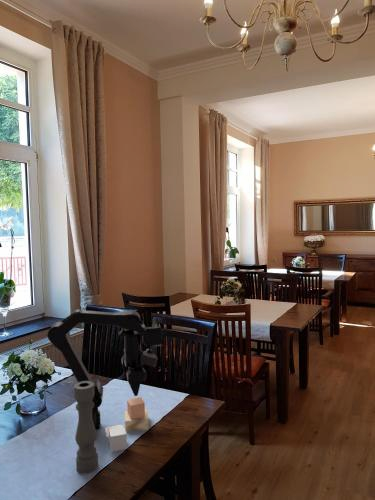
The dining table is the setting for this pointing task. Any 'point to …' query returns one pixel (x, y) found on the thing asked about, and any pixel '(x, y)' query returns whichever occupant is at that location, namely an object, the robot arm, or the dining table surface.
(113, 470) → the dining table surface
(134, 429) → the maple base block
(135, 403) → the terracotta block
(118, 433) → the white cube
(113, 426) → the card
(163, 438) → the dining table surface
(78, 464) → the candle holder
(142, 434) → the dining table surface
